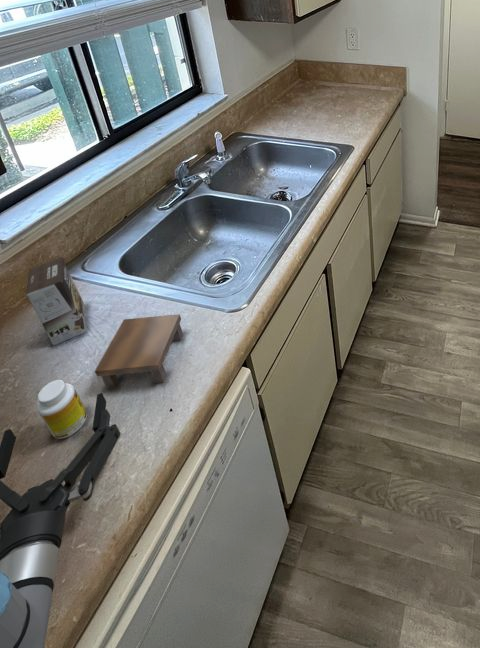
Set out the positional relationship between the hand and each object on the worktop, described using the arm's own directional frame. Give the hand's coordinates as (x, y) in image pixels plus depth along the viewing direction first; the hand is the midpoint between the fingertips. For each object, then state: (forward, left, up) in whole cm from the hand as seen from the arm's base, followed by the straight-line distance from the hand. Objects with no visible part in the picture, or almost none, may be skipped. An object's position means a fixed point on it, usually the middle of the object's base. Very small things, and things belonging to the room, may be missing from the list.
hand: (57, 415), depth 79 cm
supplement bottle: (-1, +2, -6) cm, 6 cm away
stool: (+8, +14, -6) cm, 17 cm away
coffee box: (-14, +25, -6) cm, 29 cm away
